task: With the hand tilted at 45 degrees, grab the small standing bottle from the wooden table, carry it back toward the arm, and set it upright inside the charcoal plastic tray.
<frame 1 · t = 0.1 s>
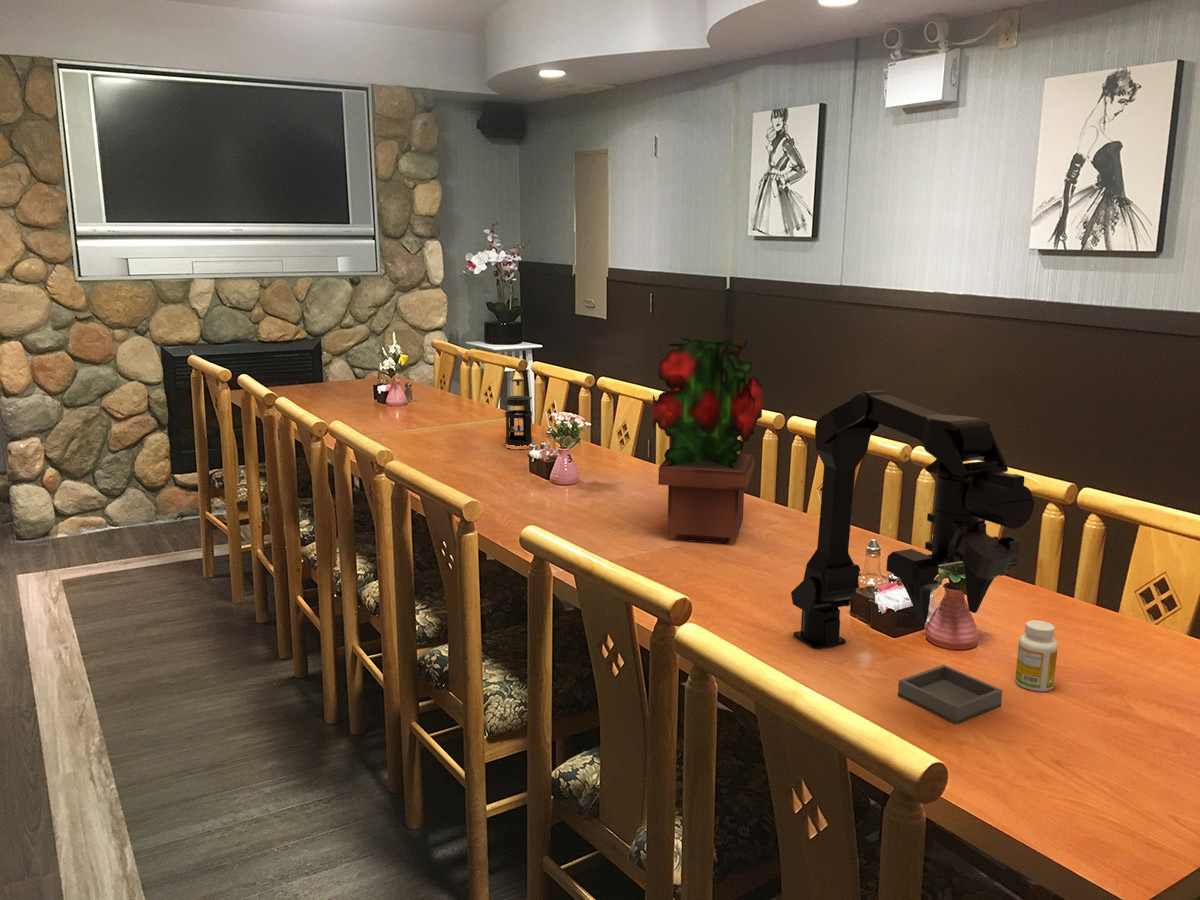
hand: (947, 617, 132), 15 cm above the table, tool pointing down, fingers open, 9 cm apart
french press: (519, 448, 317), on the table
charcoal tray: (948, 700, 139), on the table
supplement bottle: (1033, 685, 144), on the table
potted plant: (706, 534, 220), on the table
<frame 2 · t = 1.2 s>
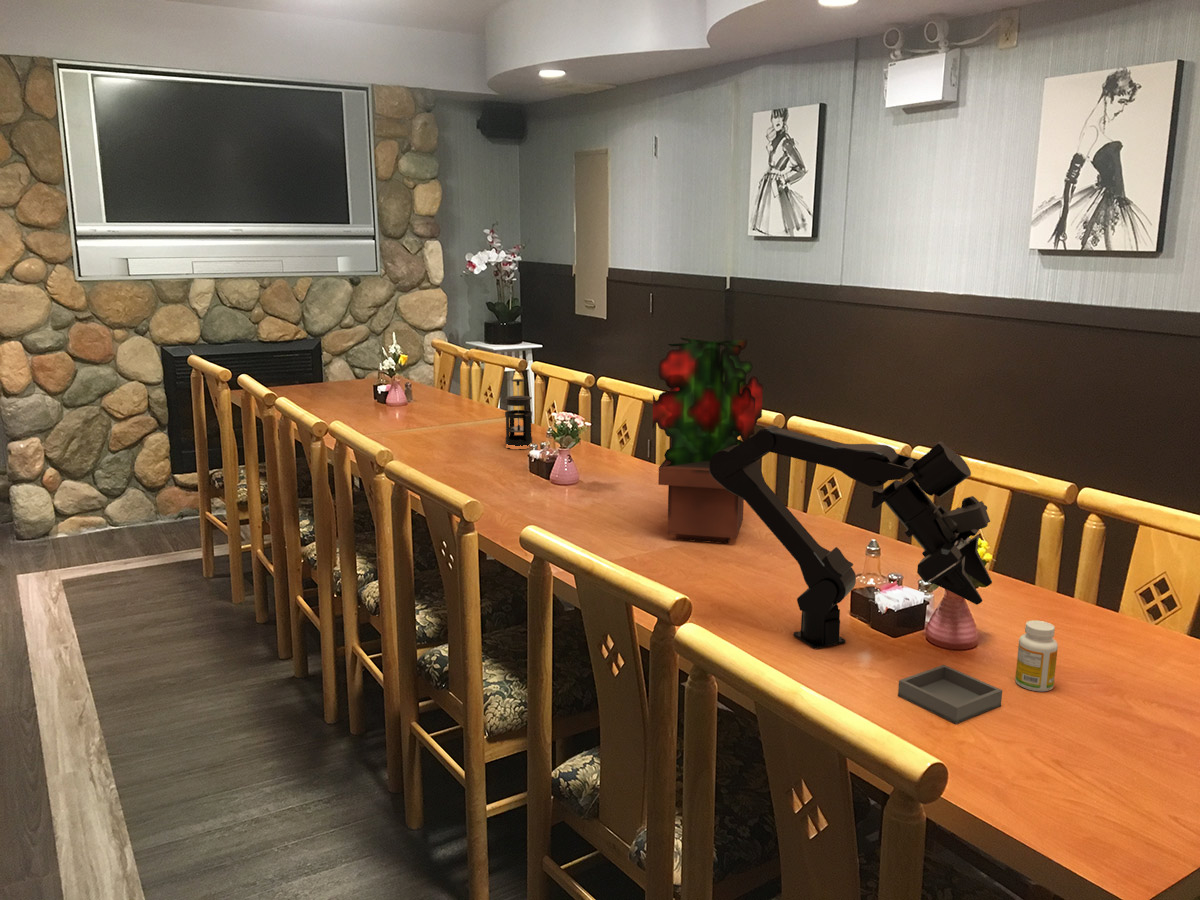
hand: (985, 593, 145), 13 cm above the table, tool tilted 45°, fingers open, 9 cm apart
nothing on the table moved.
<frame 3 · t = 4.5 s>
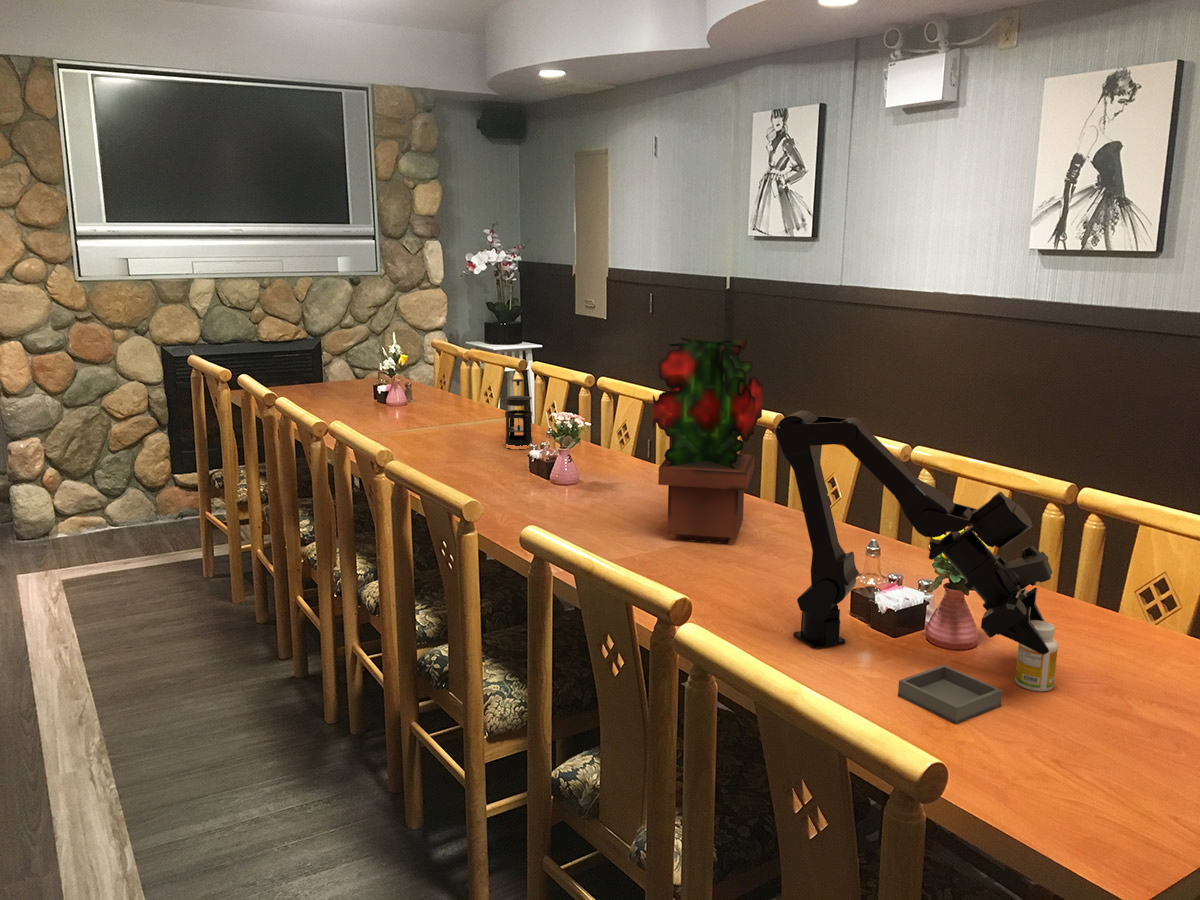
hand: (1048, 646, 142), 7 cm above the table, tool tilted 45°, fingers closed on supplement bottle, 5 cm apart
supplement bottle: (1033, 685, 144), on the table, touching gripper
everything else where it was.
when the fingers open (8 cm above the table, at t = 8.8 s): supplement bottle stays where it is, resting on charcoal tray.
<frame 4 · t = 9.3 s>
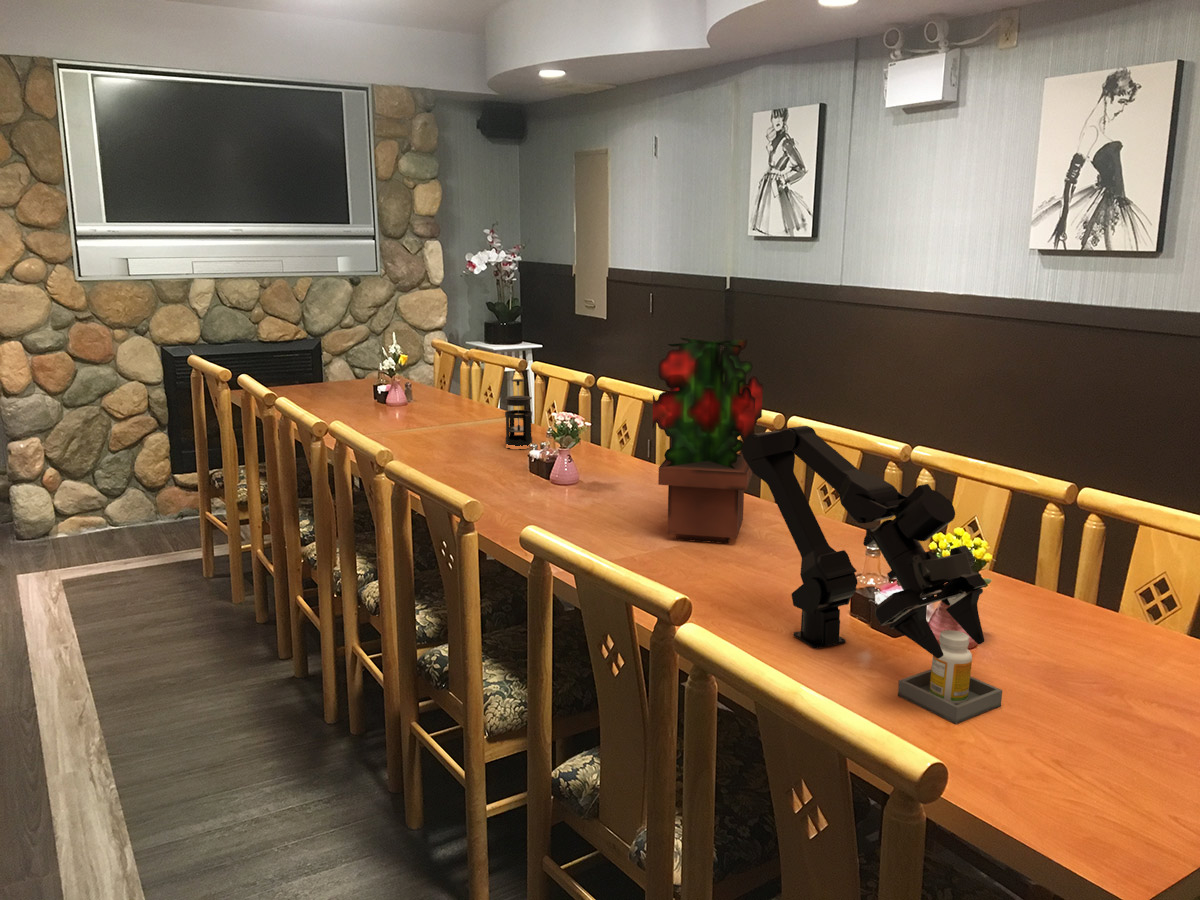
hand: (961, 650, 136), 9 cm above the table, tool tilted 45°, fingers open, 9 cm apart
supplement bottle: (947, 698, 139), resting on charcoal tray
everything else where it was.
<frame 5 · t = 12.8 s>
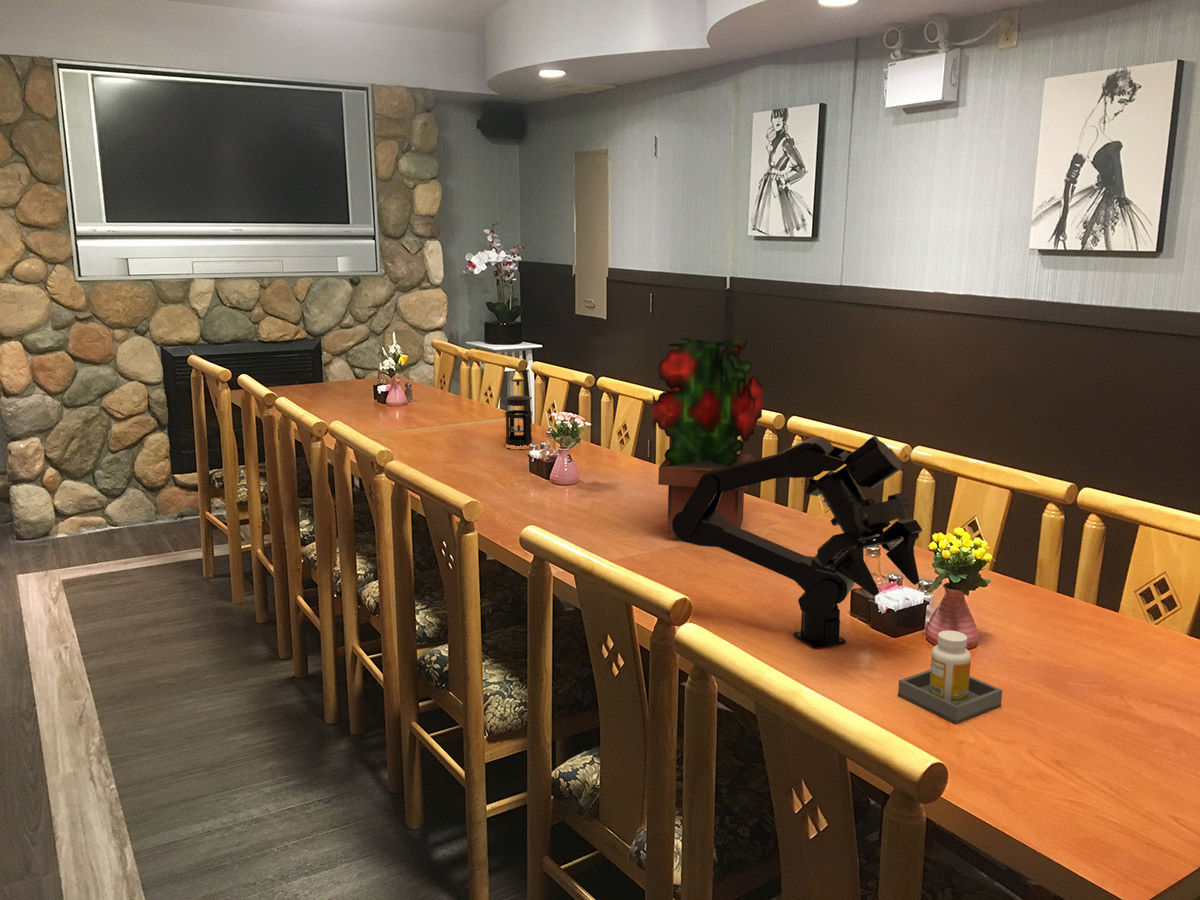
hand: (897, 589, 146), 14 cm above the table, tool tilted 45°, fingers open, 9 cm apart
nothing on the table moved.
at the end: supplement bottle 0.2 cm off-centre on the charcoal tray, point 0.3 cm above the charcoal tray's base; supplement bottle tilted 1°; the gripper is holding nothing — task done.
